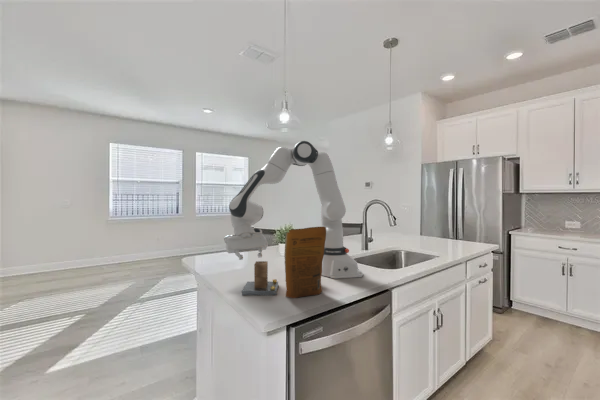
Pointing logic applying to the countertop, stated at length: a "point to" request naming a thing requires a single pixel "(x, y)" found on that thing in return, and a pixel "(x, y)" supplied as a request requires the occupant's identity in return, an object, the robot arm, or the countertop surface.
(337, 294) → the countertop surface
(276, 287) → the pin plate
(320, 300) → the countertop surface
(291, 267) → the pancake mix bag
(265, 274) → the brown wooden block
